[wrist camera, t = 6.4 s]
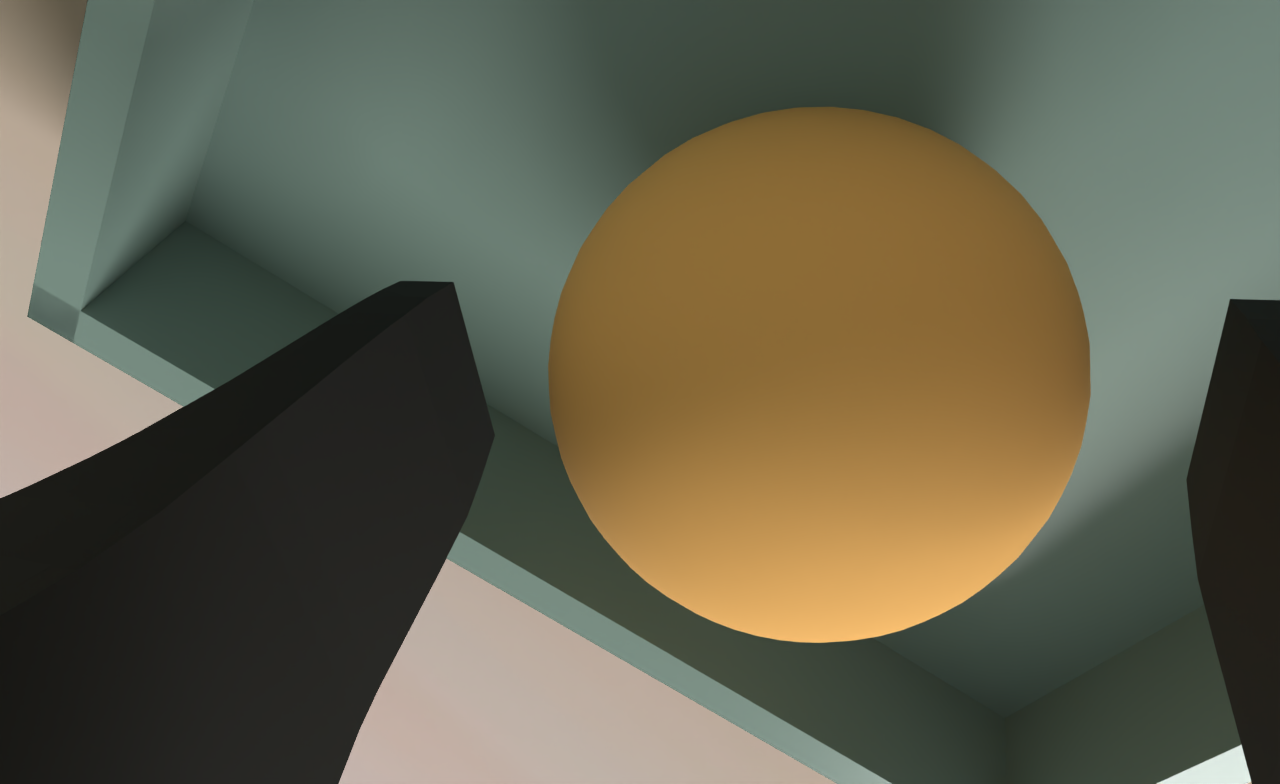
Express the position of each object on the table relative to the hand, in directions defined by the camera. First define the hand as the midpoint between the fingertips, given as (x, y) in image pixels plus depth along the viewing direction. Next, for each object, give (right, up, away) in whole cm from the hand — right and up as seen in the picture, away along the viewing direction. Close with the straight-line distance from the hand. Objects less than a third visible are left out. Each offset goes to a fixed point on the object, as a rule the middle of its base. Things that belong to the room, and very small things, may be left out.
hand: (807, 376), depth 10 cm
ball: (+1, +2, +2) cm, 2 cm away
